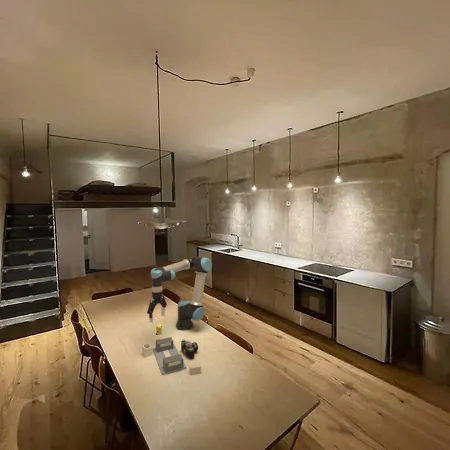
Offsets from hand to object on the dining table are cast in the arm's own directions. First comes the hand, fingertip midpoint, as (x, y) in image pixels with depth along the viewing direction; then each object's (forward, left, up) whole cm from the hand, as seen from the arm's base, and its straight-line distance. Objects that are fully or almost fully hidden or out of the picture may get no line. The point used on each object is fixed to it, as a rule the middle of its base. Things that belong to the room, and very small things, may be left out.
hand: (157, 318), depth 200 cm
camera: (-21, +17, -24) cm, 36 cm away
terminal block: (-16, +40, -23) cm, 49 cm away
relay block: (+9, +5, -23) cm, 25 cm away
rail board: (-4, +17, -23) cm, 29 cm away
